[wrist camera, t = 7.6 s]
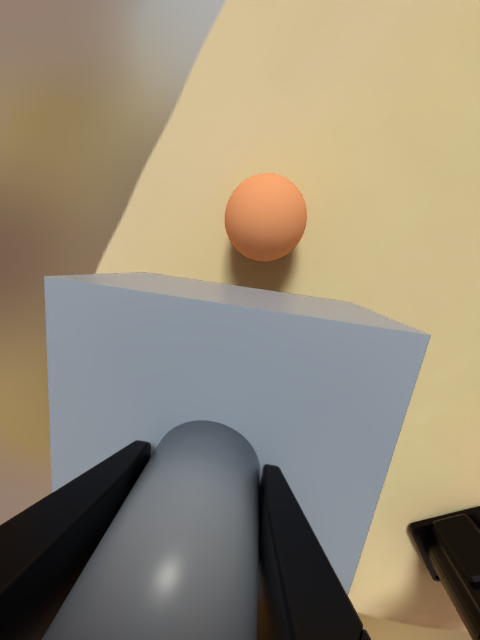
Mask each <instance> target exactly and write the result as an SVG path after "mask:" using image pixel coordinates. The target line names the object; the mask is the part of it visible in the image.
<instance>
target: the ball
mask: <svg viewBox="0 0 480 640" xmlns="http://www.w3.org/2000/svg"><path fill="white" fill-rule="evenodd" d="M306 221H307V210H306V205H305V201H304V199H303V196H302V194H301V193H300V191H299V189H298V188H297V187H296V186H295V185H294V184H293V183H292V182H291V181H290V180H288V179H287V178H285V177H283V176H280V175H277V174H272V173H263V174H258V175H254V176H251V177H249V178H248V179H246V180H245V181H243V182H242V183H241V184H239V186H238V187H237V188H236V189H235V190H234V191H233V193H232V195H231V196H230V198H229V200H228V203H227V206H226V211H225V227H226V232H227V235H228V237H229V239H230V241H231V243H232V244H233V246H234V247H235V248H236V249H237V250H238V251H239V252H240V253H241V254H242V255H244V256H246V257H247V258H250V259H253V260H256V261H272V260H276V259H279V258H281V257H283V256H285V255H286V254H288V253H289V252H290V251H291V250H293V249H294V248H295V246H296V245H297V244H298V242H299V241H300V239H301V237H302V235H303V233H304V230H305V227H306Z"/></svg>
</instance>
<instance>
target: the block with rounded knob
mask: <svg viewBox="0 0 480 640" xmlns="http://www.w3.org/2000/svg"><path fill="white" fill-rule="evenodd" d="M44 279H45V280H44V281H45V309H46V336H47V364H48V391H49V419H50V447H51V473H52V492H54V491H56V490H57V489H59V488H60V487H62V486H64V485H65V484H67V483H68V482H70V481H72V480H73V479H75V478H76V477H78V476H80V475H81V474H83V473H84V472H86V471H87V470H89V469H91V468H92V467H94V466H95V465H97V464H99V463H100V462H102V461H103V460H105V459H107V458H108V457H110V456H111V455H113V454H115V453H116V452H118V451H119V450H121V449H122V448H124V447H126V446H127V445H129V444H130V443H132V442H134V441H136V440H141V441H147V442H150V444H151V458H150V459H149V461H148V463H147V464H146V466H145V468H144V469H143V471H142V473H141V474H140V476H139V478H138V479H137V481H136V483H135V484H134V486H133V488H132V489H131V491H130V493H129V494H128V496H127V498H126V499H125V501H124V503H123V504H122V506H121V508H120V509H119V511H118V513H117V514H116V516H115V518H114V519H113V521H112V523H111V524H110V526H109V528H108V529H107V531H106V533H105V534H104V536H103V538H102V539H101V541H100V543H99V544H98V546H97V548H96V549H95V551H94V553H93V554H92V556H91V558H90V559H89V561H88V563H87V564H86V566H85V568H84V569H83V571H82V573H81V574H80V576H79V578H78V579H77V581H76V583H75V584H74V586H73V588H72V589H71V591H70V593H69V594H68V596H67V598H66V599H65V601H64V603H63V604H62V606H61V608H60V609H59V611H58V613H57V614H56V616H55V618H54V619H53V621H52V623H51V624H50V626H49V628H48V629H47V631H46V633H45V634H44V636H43V638H42V639H41V640H257V603H258V558H259V513H260V482H261V477H262V471H263V467H264V465H265V464H270V465H276V466H278V467H279V468H280V469H281V471H282V473H283V475H284V477H285V479H286V481H287V482H288V484H289V486H290V488H291V490H292V492H293V494H294V496H295V498H296V499H297V501H298V503H299V505H300V507H301V509H302V511H303V513H304V514H305V516H306V518H307V520H308V522H309V524H310V526H311V528H312V530H313V531H314V533H315V535H316V537H317V539H318V541H319V543H320V545H321V546H322V548H323V550H324V552H325V554H326V556H327V558H328V560H329V561H330V563H331V565H332V567H333V569H334V571H335V573H336V575H337V577H338V578H339V580H340V582H341V584H342V586H343V588H344V590H345V592H346V593H347V595H348V594H349V591H350V588H351V585H352V581H353V578H354V575H355V572H356V569H357V566H358V563H359V559H360V556H361V553H362V550H363V547H364V544H365V541H366V537H367V534H368V531H369V528H370V525H371V522H372V519H373V515H374V512H375V509H376V506H377V503H378V500H379V497H380V494H381V490H382V487H383V484H384V481H385V478H386V475H387V472H388V468H389V465H390V462H391V459H392V456H393V453H394V450H395V446H396V443H397V440H398V437H399V434H400V431H401V428H402V424H403V421H404V418H405V415H406V412H407V409H408V406H409V402H410V399H411V396H412V393H413V390H414V387H415V384H416V380H417V377H418V374H419V371H420V368H421V365H422V362H423V359H424V355H425V352H426V349H427V346H428V343H429V340H430V337H431V335H430V334H427V333H425V332H422V331H420V330H417V329H415V328H412V327H410V326H408V325H405V324H403V323H400V322H398V321H395V320H393V319H391V318H388V317H386V316H383V315H381V314H378V313H376V312H373V311H371V310H369V309H366V308H364V307H361V306H359V305H356V304H354V303H351V302H345V301H338V300H331V299H324V298H318V297H311V296H304V295H297V294H290V293H283V292H277V291H270V290H263V289H256V288H249V287H243V286H236V285H229V284H222V283H215V282H208V281H202V280H195V279H188V278H181V277H174V276H167V275H161V274H154V273H147V272H136V273H112V274H88V275H65V276H45V277H44Z"/></svg>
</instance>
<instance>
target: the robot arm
mask: <svg viewBox="0 0 480 640" xmlns="http://www.w3.org/2000/svg"><path fill="white" fill-rule="evenodd" d="M150 458H151V444H150V442H147V441H141V440H136V441H134V442H132V443H130V444H129V445H127V446H126V447H124V448H122V449H121V450H119V451H118V452H116V453H115V454H113V455H111V456H110V457H108V458H107V459H105V460H103V461H102V462H100V463H99V464H97V465H95V466H94V467H92V468H91V469H89V470H87V471H86V472H84V473H83V474H81V475H80V476H78V477H76V478H75V479H73V480H72V481H70V482H68V483H67V484H65V485H64V486H62V487H60V488H59V489H57V490H56V491H54V492H52V493H51V494H49V495H48V496H46V497H44V498H43V499H42V500H40V501H38V502H37V503H35V504H34V505H32V506H30V507H29V508H27V509H25V510H24V511H23V512H21V513H19V514H18V515H16V516H14V517H13V518H11V519H10V520H8V521H6V522H5V523H3V524H2V525H0V640H41V639H42V638H43V636H44V634H45V633H46V631H47V629H48V628H49V626H50V624H51V623H52V621H53V619H54V618H55V616H56V614H57V613H58V611H59V609H60V608H61V606H62V604H63V603H64V601H65V599H66V598H67V596H68V594H69V593H70V591H71V589H72V588H73V586H74V584H75V583H76V581H77V579H78V578H79V576H80V574H81V573H82V571H83V569H84V568H85V566H86V564H87V563H88V561H89V559H90V558H91V556H92V554H93V553H94V551H95V549H96V548H97V546H98V544H99V543H100V541H101V539H102V538H103V536H104V534H105V533H106V531H107V529H108V528H109V526H110V524H111V523H112V521H113V519H114V518H115V516H116V514H117V513H118V511H119V509H120V508H121V506H122V504H123V503H124V501H125V499H126V498H127V496H128V494H129V493H130V491H131V489H132V488H133V486H134V484H135V483H136V481H137V479H138V478H139V476H140V474H141V473H142V471H143V469H144V468H145V466H146V464H147V463H148V461H149V459H150ZM409 529H410V531H411V533H412V535H413V538H414V540H415V542H416V544H417V546H418V548H419V551H420V553H421V555H422V557H423V559H424V562H425V564H426V566H427V568H428V570H429V573H430V575H431V577H432V578H433V580H435V581H441V582H442V584H443V586H444V588H445V589H446V591H447V593H448V595H449V597H450V599H451V601H452V602H453V604H454V606H455V608H456V610H457V612H458V614H459V615H460V617H461V619H462V621H463V623H464V625H465V627H466V628H467V630H468V632H469V634H470V636H471V638H472V639H473V640H480V507H477V508H473V509H469V510H465V511H461V512H457V513H453V514H448V515H444V516H440V517H436V518H432V519H428V520H424V521H420V522H416V523H413V524H411V525H410V526H409ZM362 629H363V624H362V622H361V620H360V618H359V616H358V614H357V612H356V610H355V609H354V607H353V605H352V603H351V601H350V599H349V597H348V595H347V593H346V592H345V590H344V588H343V586H342V584H341V582H340V580H339V578H338V577H337V575H336V573H335V571H334V569H333V567H332V565H331V563H330V561H329V560H328V558H327V556H326V554H325V552H324V550H323V548H322V546H321V545H320V543H319V541H318V539H317V537H316V535H315V533H314V531H313V530H312V528H311V526H310V524H309V522H308V520H307V518H306V516H305V514H304V513H303V511H302V509H301V507H300V505H299V503H298V501H297V499H296V498H295V496H294V494H293V492H292V490H291V488H290V486H289V484H288V482H287V481H286V479H285V477H284V475H283V473H282V471H281V469H280V468H279V467H278V466H276V465H270V464H265V465H264V467H263V471H262V477H261V482H260V513H259V558H258V603H257V640H371V638H370V637H369V635H368V633H367V631H366V630H365V629H363V630H362Z"/></svg>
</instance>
